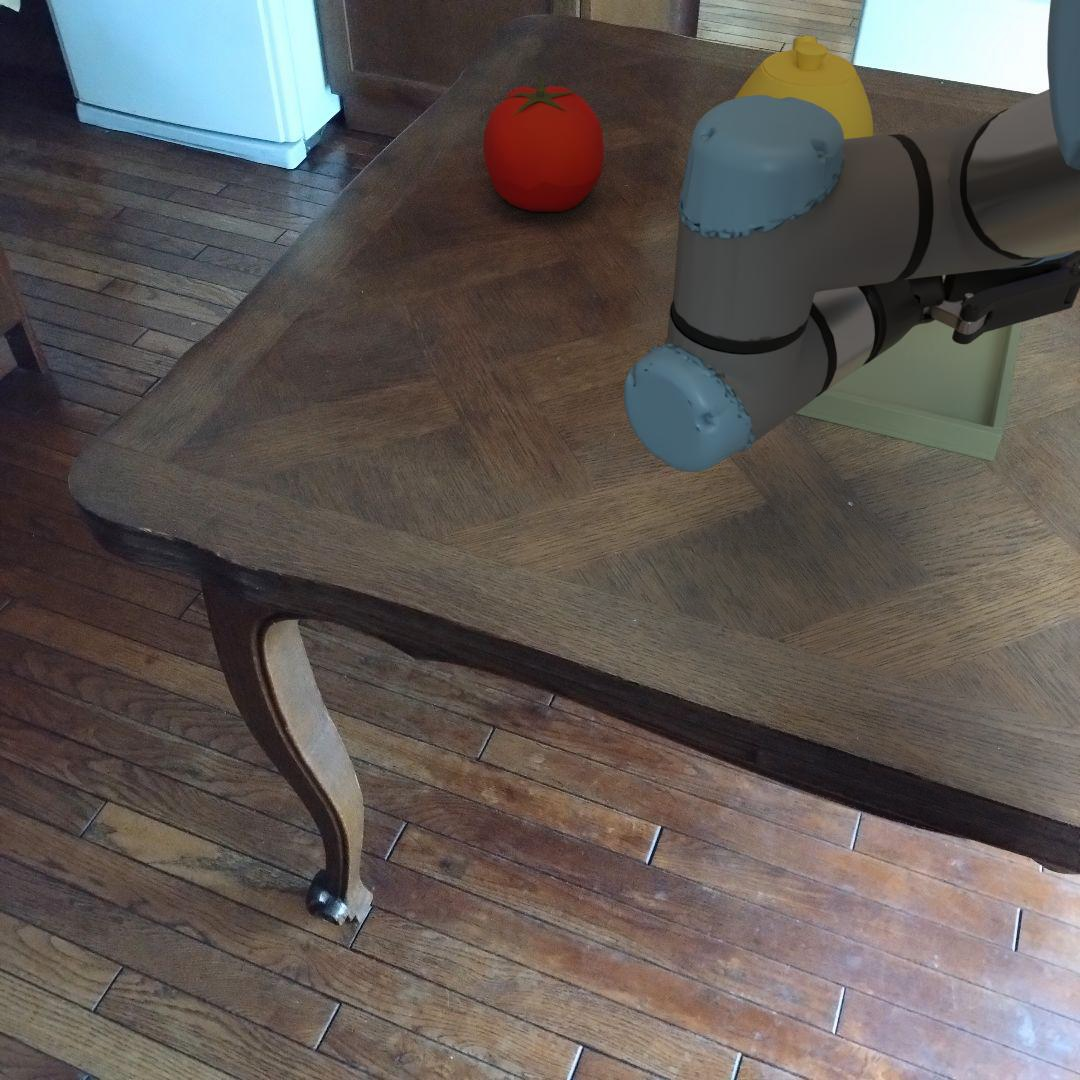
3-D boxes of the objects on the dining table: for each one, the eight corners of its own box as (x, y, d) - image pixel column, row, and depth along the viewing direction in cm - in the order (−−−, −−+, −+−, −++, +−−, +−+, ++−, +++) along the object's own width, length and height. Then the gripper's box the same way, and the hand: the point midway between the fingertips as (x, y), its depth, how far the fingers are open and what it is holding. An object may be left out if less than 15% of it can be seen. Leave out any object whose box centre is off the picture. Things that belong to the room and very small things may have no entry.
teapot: (724, 123, 124) (739, -2, 114) (861, 133, 122) (888, 7, 112) (711, 206, 110) (727, 72, 100) (865, 219, 108) (896, 84, 98)
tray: (992, 461, 82) (1003, 435, 80) (769, 407, 87) (774, 381, 85) (1019, 315, 96) (1028, 290, 94) (825, 275, 101) (830, 251, 99)
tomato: (560, 162, 117) (561, 55, 109) (629, 213, 109) (636, 102, 101) (463, 191, 113) (456, 81, 105) (528, 246, 105) (526, 132, 97)
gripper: (684, 293, 75) (867, 191, 86) (976, 452, 63) (1149, 311, 74) (695, 195, 70) (889, 99, 80) (1016, 348, 58) (1196, 211, 68)
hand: (1013, 200), depth 77 cm, fingers closed on mug, 11 cm apart
